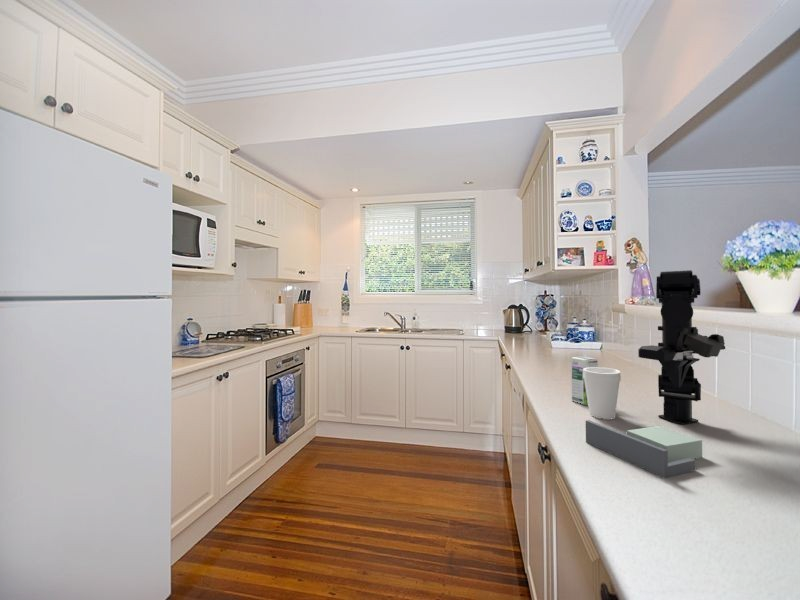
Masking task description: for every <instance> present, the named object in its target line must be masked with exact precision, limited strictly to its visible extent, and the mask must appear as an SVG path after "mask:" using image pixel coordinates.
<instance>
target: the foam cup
mask: <svg viewBox="0 0 800 600" xmlns="http://www.w3.org/2000/svg"><path fill="white" fill-rule="evenodd" d="M583 378H584V381H585V388H586V394H587V400H588V405H587V406H588V412H589V415H590V416H591V417H593V416H594V417H593V418H595V417H597V418H596V419H600V418H603V419H602V420H612V419H611V418H614V419H615V417H616V410H617V405H618V398H619V397H618V396H619V390H620V383H621V378H622V376H621V370H618V369H616V368H608V367H599V366H598V367H589V368H584V369H583Z"/></svg>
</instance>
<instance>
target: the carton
mask: <svg viewBox="0 0 800 600" xmlns="http://www.w3.org/2000/svg"><path fill="white" fill-rule="evenodd" d="M626 435H629V436H631V437H634V438H637V439H639V440H642V441H644V442H647V443H650V444H652V445H655V446H657V447H660V448H663V449H665V450H668V463H669V462H674V461H678V460H683V459H687V458H691V459H693V460H696V459H700V458H701V457H702V458H703V440H702V439H701V438H700V439H699V438H697V437H694V436H691V435H688V434H685V433H684V432H683V433H682V432H680V431H676V430H673V429H670V428H668V427H666V426H663V425H656V426H648V427H642V428H635V429H628V430H626ZM695 458H696V459H695ZM702 458H701V459H702Z"/></svg>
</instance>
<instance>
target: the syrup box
mask: <svg viewBox="0 0 800 600" xmlns="http://www.w3.org/2000/svg"><path fill="white" fill-rule="evenodd" d="M598 361H599V359H598V358H593V357H587V356H586V357H585V356H573V357H571V358H570V362H571V363H570V365H571V366H570V368H571V370H570V371H571V373H570V374H571V402H573V401H574V403H577V402H578V403H577V404H580V403H581V404H580V405H583V406H584V405H585V406H588V400H587V394H586V388H585V381H584V378H583V369H584V368H589V367H599V366H598Z"/></svg>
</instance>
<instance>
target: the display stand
mask: <svg viewBox="0 0 800 600" xmlns="http://www.w3.org/2000/svg"><path fill="white" fill-rule="evenodd" d="M585 443H587V444H589V445H591V446H594V447H596V448H598V449H600V450H603V451H605V452H607V453H609V454H611V455H614V456H615V457H618V458H620V459H622V460H624V461H626V462H629V463H631V464H633V465H635V466H637V467H639V468H642V469H644V470H646V471H648V472H650V473H653V474H654V475H657V476H659V477H662V478H664V479H665V478H669V477H670V478H671V477H674V476H678V475H681V474H686V473H690V472H694V471H696V459H691V458H687V459H683V460H678V461H674V462H669V463H668V450H665V449H663V448H660V447H657V446H655V445H652V444H650V443H647V442H644V441H642V440H639V439H637V438H634V437H631V436H629V435H627V433H623V432H621V431H618V430H617V429H615V428H610V427H608V426H605V425H603V424H600V423H598V422H594V421H593V420H590V419H587V420H585Z"/></svg>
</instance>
